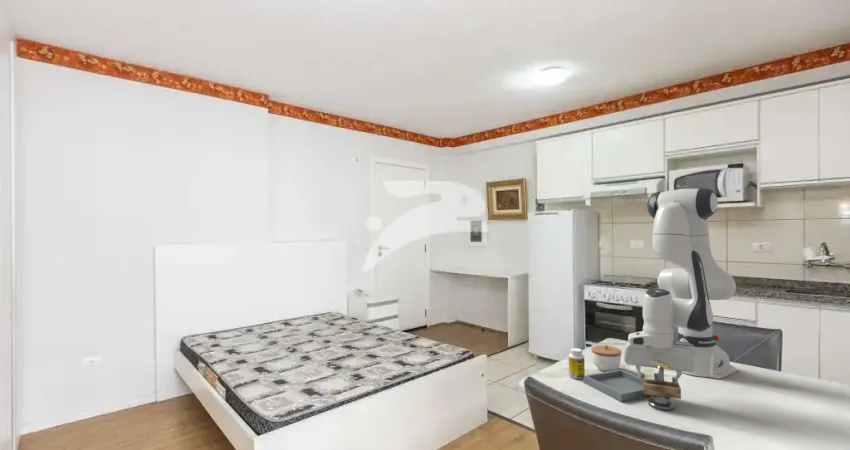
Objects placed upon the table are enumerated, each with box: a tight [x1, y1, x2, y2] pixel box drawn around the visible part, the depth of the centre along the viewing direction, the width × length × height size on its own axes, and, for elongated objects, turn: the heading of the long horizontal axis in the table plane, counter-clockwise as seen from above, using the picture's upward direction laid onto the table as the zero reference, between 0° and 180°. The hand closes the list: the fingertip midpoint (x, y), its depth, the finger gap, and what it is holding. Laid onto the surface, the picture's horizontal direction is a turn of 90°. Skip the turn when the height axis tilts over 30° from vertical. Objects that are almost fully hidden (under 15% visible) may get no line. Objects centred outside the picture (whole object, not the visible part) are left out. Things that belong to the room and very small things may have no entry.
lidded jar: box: [590, 344, 622, 372], centre depth 159 cm, size 11×11×9 cm
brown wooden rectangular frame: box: [642, 372, 682, 400], centre depth 131 cm, size 10×12×3 cm
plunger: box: [648, 359, 675, 412], centre depth 128 cm, size 7×7×14 cm
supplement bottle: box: [568, 347, 586, 380], centre depth 152 cm, size 6×6×10 cm
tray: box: [583, 369, 652, 403], centre depth 141 cm, size 17×17×2 cm
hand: (658, 381), depth 134 cm, fingers open, 8 cm apart
